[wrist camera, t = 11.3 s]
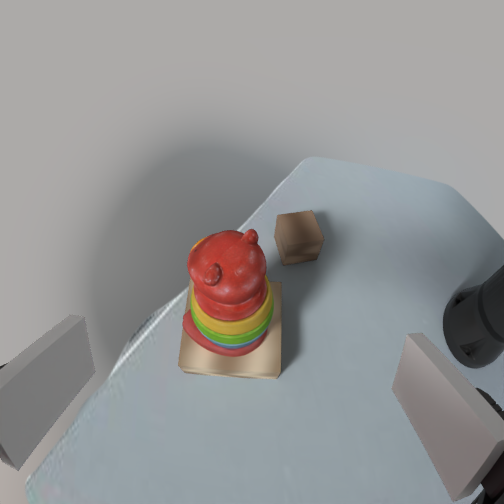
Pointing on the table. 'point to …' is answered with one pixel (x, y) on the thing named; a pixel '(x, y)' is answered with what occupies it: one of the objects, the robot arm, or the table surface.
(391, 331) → the table surface
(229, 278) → the stacking bear
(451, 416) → the robot arm
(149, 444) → the table surface
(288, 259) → the walnut cube
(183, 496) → the table surface
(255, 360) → the maple block
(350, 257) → the table surface
